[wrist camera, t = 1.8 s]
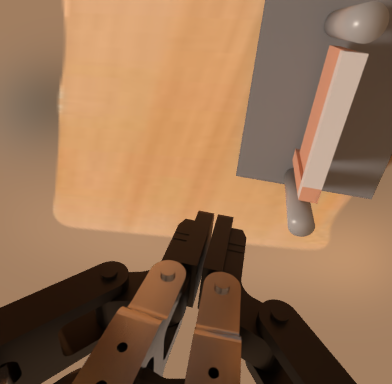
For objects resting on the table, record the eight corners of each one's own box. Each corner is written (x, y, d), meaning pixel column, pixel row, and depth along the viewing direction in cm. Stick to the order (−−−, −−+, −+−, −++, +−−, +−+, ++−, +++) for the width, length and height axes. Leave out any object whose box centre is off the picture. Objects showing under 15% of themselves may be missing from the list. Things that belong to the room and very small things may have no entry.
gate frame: (269, -26, 24) (268, -54, 15) (463, -13, 22) (587, -38, 13) (236, 171, 33) (224, 222, 24) (370, 194, 31) (407, 259, 22)
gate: (323, 44, 24) (343, 51, 17) (341, 45, 24) (368, 53, 17) (292, 159, 29) (298, 200, 22) (306, 161, 29) (317, 203, 22)
